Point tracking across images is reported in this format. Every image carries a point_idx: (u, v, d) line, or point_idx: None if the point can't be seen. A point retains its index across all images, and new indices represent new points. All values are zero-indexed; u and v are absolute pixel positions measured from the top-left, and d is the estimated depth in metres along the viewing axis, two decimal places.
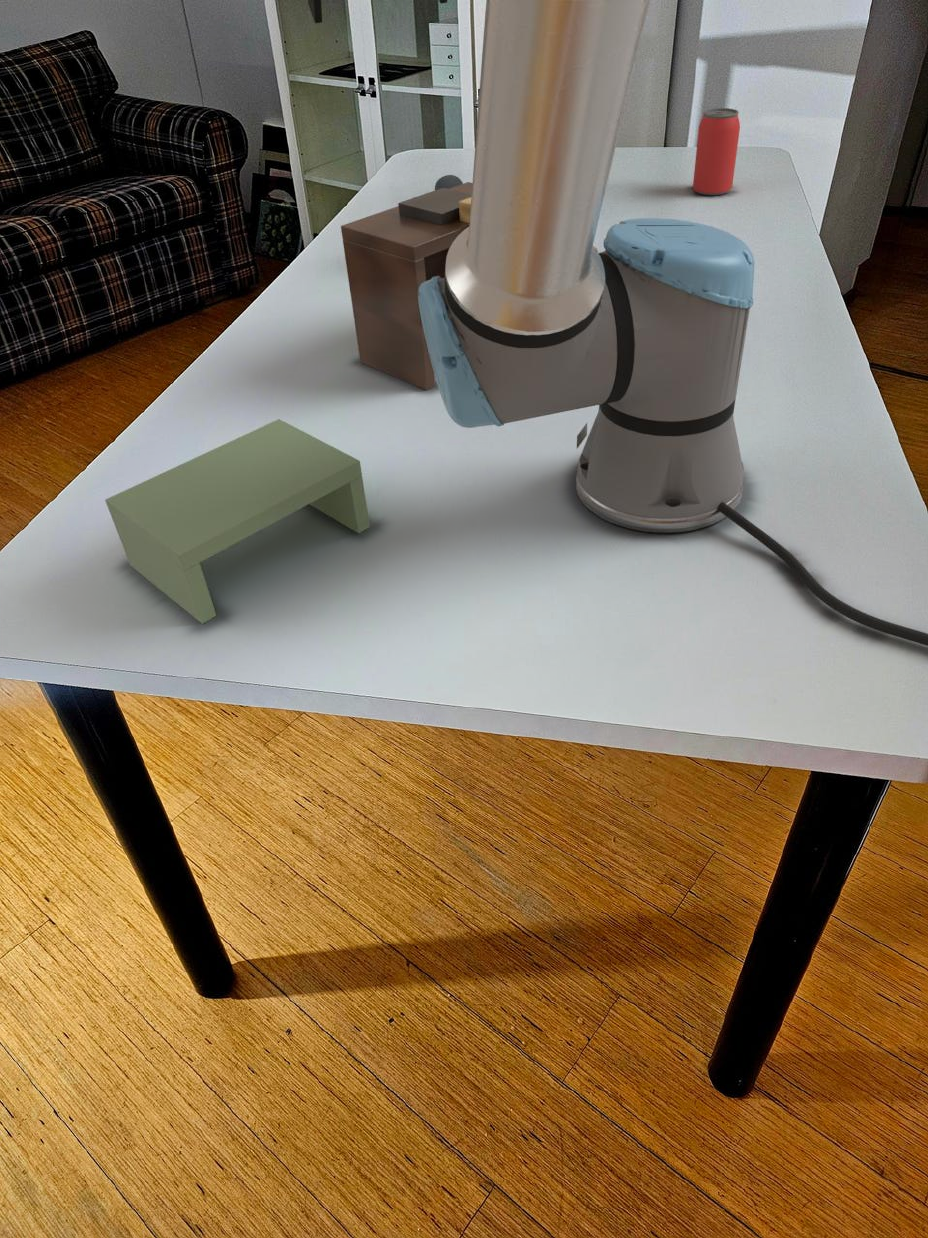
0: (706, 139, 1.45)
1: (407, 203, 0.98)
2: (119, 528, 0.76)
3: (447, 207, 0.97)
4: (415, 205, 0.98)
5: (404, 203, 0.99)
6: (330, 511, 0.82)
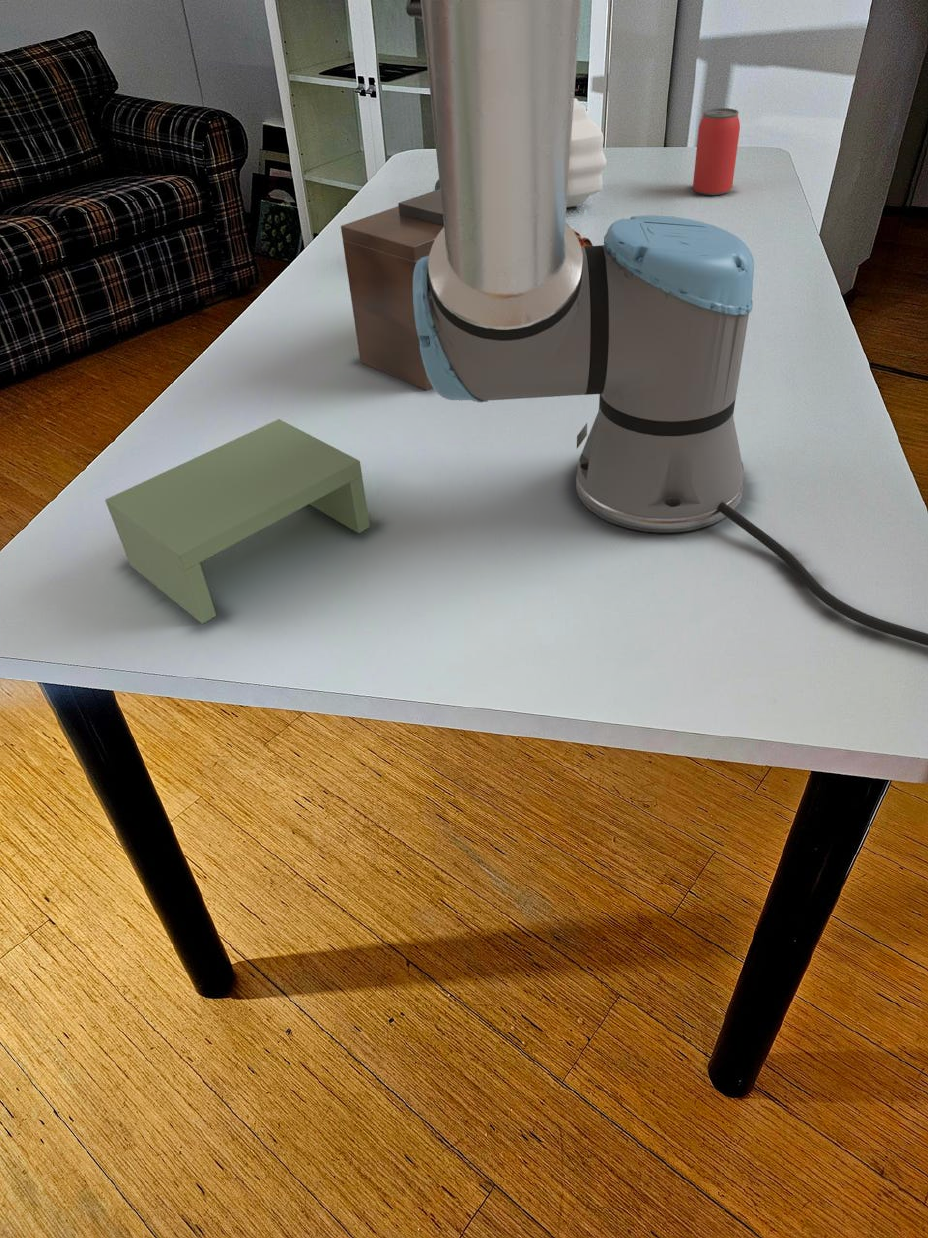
0: (706, 139, 1.45)
1: (407, 203, 0.98)
2: (119, 528, 0.76)
3: None
4: (415, 205, 0.98)
5: (404, 203, 0.99)
6: (330, 511, 0.82)
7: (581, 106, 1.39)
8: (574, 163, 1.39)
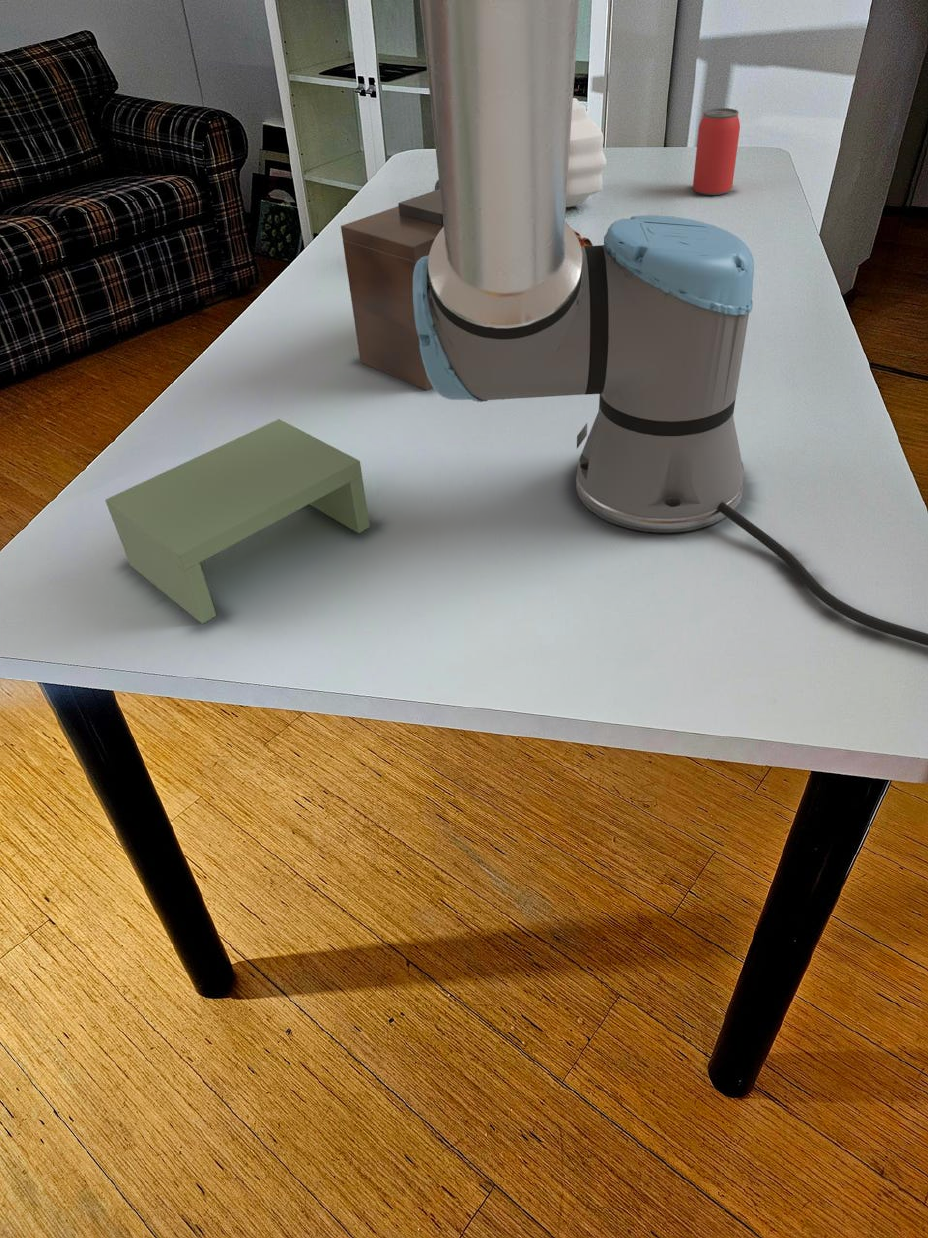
0: (706, 139, 1.45)
1: (407, 203, 0.98)
2: (119, 528, 0.76)
3: None
4: (415, 205, 0.98)
5: (404, 203, 0.99)
6: (330, 511, 0.82)
7: (581, 106, 1.39)
8: (574, 163, 1.39)
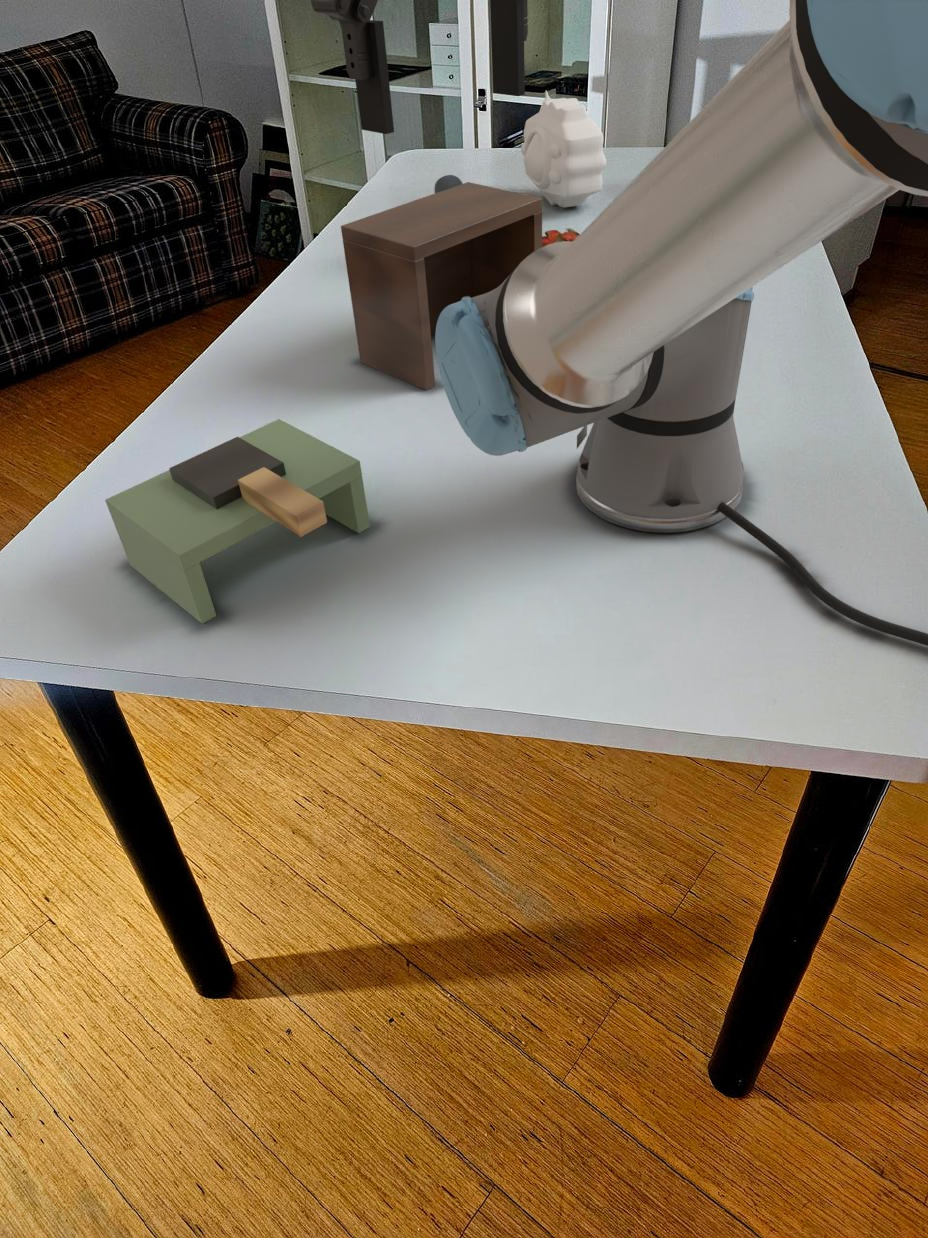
0: None
1: (179, 471, 0.75)
2: (119, 528, 0.76)
3: (227, 482, 0.73)
4: (188, 475, 0.74)
5: (176, 470, 0.75)
6: (330, 511, 0.82)
7: (581, 106, 1.39)
8: (574, 163, 1.39)
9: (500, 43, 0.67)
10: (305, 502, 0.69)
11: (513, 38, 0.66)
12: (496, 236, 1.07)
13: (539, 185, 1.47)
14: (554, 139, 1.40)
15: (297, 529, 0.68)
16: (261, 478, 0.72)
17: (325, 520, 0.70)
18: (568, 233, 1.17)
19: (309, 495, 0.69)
